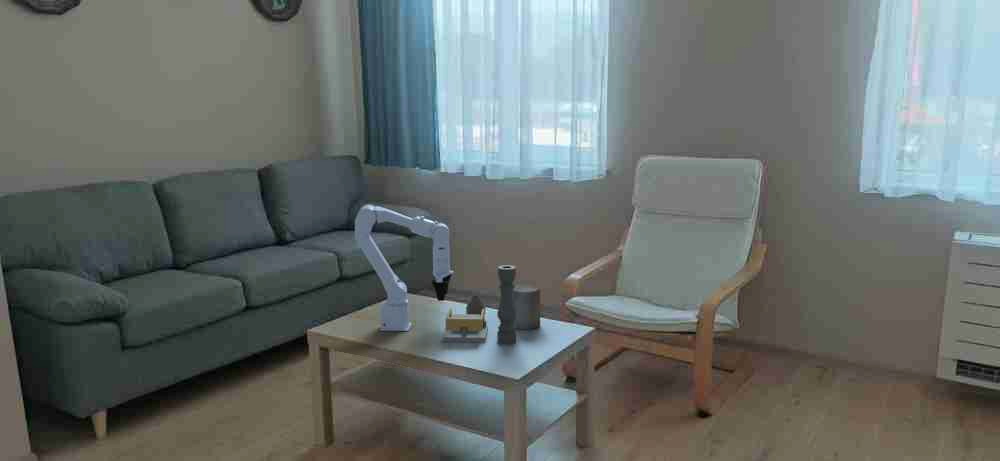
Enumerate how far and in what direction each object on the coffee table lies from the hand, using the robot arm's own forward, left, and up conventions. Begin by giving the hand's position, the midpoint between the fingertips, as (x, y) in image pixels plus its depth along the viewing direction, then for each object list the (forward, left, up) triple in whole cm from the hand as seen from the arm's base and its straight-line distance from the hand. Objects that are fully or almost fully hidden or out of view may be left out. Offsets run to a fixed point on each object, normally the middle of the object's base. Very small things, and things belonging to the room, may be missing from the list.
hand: (442, 297), depth 261 cm
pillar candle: (+29, +2, -11) cm, 31 cm away
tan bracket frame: (+9, -9, -7) cm, 15 cm away
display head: (+9, -9, -10) cm, 17 cm away
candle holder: (+23, -15, -11) cm, 29 cm away
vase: (+11, +8, -11) cm, 17 cm away
